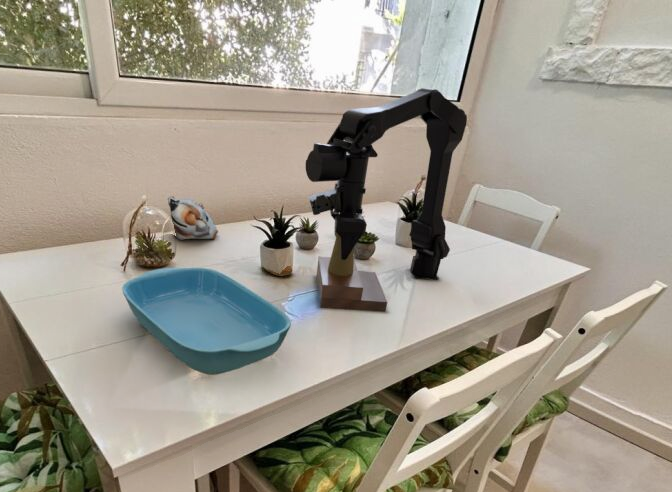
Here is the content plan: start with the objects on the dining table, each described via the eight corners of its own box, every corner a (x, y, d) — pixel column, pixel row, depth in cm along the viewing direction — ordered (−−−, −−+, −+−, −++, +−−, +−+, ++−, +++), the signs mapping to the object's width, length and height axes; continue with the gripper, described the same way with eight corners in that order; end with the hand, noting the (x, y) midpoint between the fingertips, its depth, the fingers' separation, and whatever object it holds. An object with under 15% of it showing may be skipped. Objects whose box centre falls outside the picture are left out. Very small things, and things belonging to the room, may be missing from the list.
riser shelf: (373, 281, 120) (377, 260, 116) (385, 312, 105) (390, 289, 102) (316, 277, 119) (318, 256, 115) (320, 307, 104) (322, 284, 101)
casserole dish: (310, 360, 85) (314, 325, 81) (205, 401, 72) (203, 363, 68) (205, 289, 107) (204, 259, 103) (109, 311, 94) (104, 278, 90)
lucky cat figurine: (227, 236, 138) (222, 200, 126) (198, 259, 134) (190, 224, 121) (191, 211, 142) (184, 173, 129) (162, 233, 137) (151, 195, 125)
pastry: (298, 276, 118) (299, 261, 116) (275, 279, 115) (276, 264, 113) (280, 263, 124) (281, 249, 122) (258, 266, 121) (258, 252, 119)
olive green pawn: (353, 266, 110) (361, 220, 103) (352, 277, 106) (360, 230, 99) (328, 262, 111) (334, 217, 104) (326, 274, 106) (332, 227, 99)
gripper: (311, 168, 104) (305, 237, 113) (315, 186, 89) (308, 264, 98) (360, 172, 105) (350, 240, 114) (372, 191, 89) (360, 268, 98)
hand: (341, 252), depth 106 cm, fingers open, 9 cm apart
